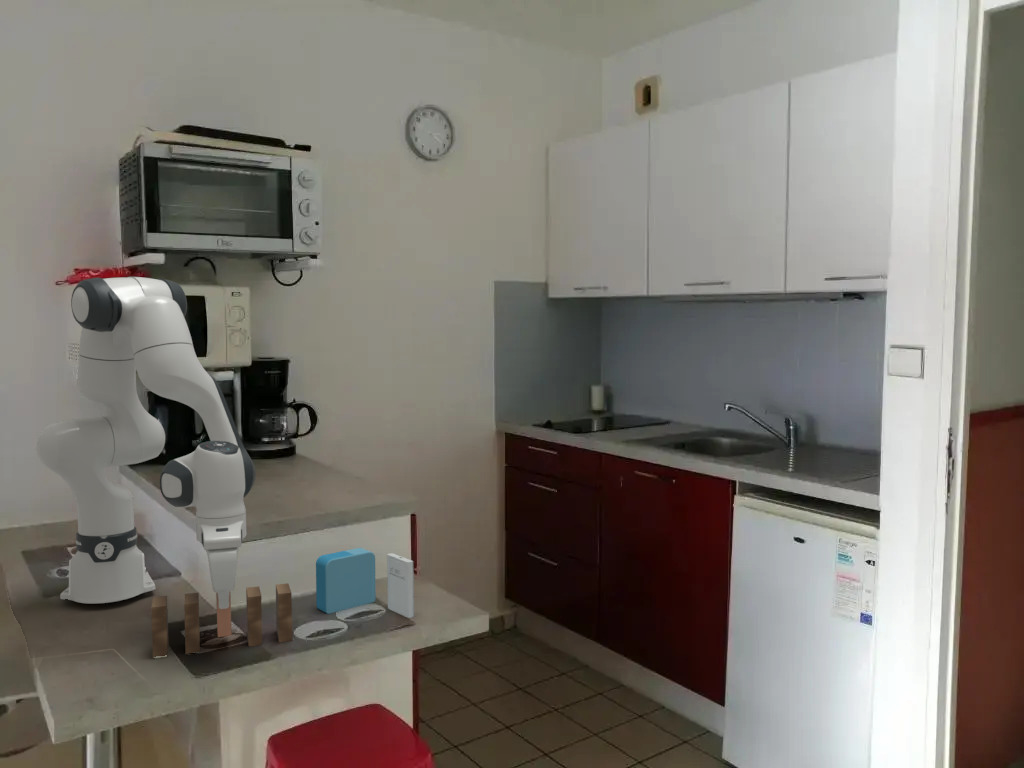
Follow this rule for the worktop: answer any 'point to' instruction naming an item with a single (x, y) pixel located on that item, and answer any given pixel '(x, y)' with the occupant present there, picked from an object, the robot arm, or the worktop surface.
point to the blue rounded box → (345, 580)
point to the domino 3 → (224, 619)
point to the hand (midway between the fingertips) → (223, 601)
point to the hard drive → (400, 585)
